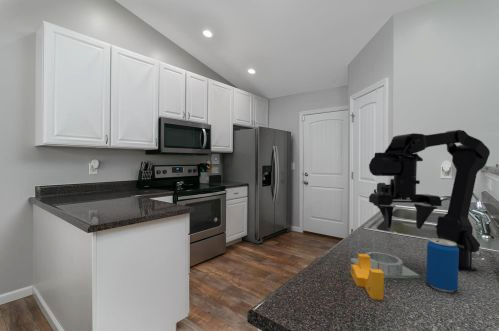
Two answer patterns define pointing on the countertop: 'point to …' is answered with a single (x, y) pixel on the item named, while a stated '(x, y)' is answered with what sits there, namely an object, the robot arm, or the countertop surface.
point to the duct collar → (388, 265)
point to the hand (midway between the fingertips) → (403, 228)
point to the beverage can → (442, 265)
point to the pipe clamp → (368, 277)
